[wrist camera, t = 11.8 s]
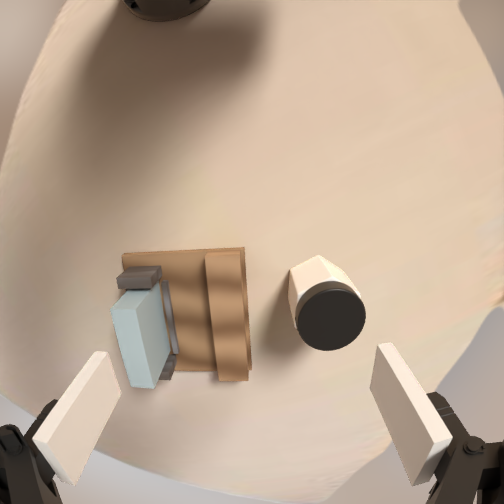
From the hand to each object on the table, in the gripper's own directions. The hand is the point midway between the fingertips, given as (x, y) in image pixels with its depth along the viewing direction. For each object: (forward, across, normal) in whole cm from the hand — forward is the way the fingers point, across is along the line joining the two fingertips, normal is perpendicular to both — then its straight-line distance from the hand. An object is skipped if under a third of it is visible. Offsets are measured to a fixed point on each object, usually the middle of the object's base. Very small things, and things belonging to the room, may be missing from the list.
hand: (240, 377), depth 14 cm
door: (+30, -16, -12) cm, 36 cm away
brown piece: (+32, -10, -12) cm, 35 cm away
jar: (+32, +9, -8) cm, 34 cm away
